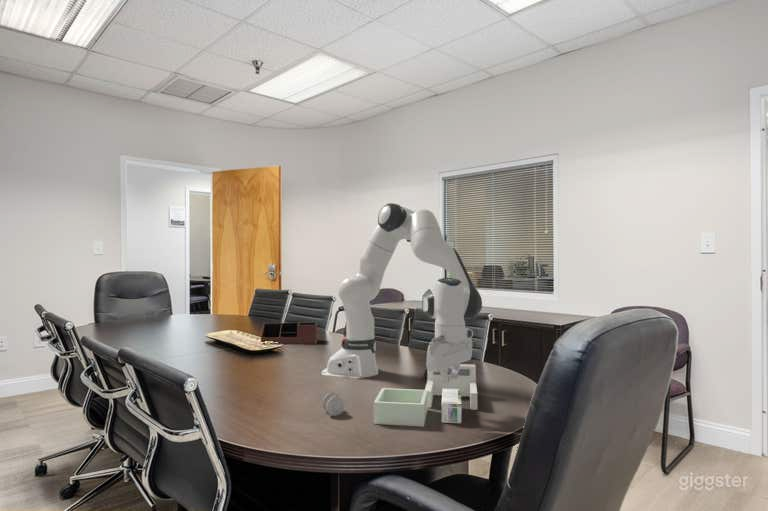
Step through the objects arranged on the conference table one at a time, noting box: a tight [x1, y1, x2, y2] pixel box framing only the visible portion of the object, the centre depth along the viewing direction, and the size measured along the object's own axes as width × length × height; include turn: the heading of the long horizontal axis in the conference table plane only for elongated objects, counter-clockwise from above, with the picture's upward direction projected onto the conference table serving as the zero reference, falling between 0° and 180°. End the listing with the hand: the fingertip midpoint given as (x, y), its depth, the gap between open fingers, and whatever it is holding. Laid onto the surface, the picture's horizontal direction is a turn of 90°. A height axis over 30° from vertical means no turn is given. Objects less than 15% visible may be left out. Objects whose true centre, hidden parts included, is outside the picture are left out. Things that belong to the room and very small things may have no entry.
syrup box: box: [440, 389, 463, 424], centre depth 136 cm, size 6×6×14 cm
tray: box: [373, 387, 428, 427], centre depth 135 cm, size 14×14×6 cm
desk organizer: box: [260, 321, 318, 345], centre depth 245 cm, size 10×29×11 cm, turn 95°
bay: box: [424, 363, 478, 411], centre depth 150 cm, size 16×16×10 cm
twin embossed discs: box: [322, 391, 346, 416], centre depth 138 cm, size 6×4×6 cm
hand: (450, 380), depth 136 cm, fingers open, 3 cm apart
